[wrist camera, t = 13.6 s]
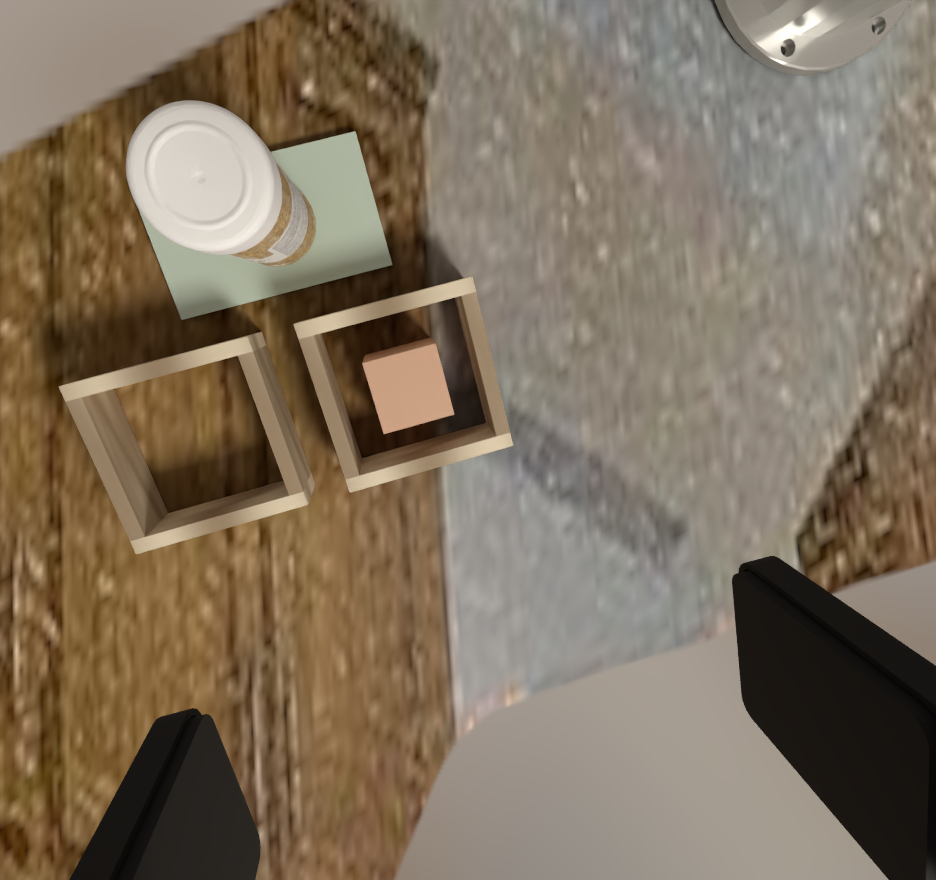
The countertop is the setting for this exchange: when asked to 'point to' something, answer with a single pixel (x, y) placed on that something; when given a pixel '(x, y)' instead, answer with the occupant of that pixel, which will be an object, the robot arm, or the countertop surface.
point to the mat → (331, 254)
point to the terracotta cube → (408, 385)
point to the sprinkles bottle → (216, 186)
